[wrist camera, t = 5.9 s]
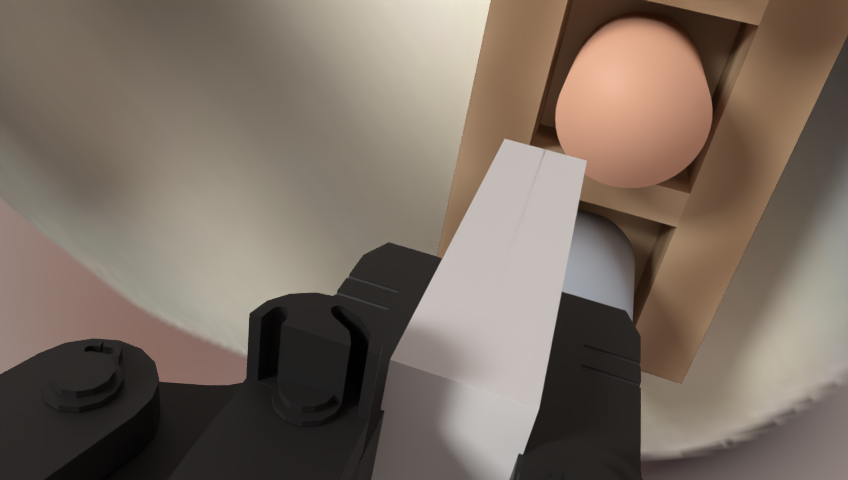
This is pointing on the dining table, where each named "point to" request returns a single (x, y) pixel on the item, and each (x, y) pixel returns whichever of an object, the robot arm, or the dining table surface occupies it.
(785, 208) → the dining table surface
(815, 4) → the wooden peg tray
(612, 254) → the blue-grey cylinder
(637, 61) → the peach cylinder
